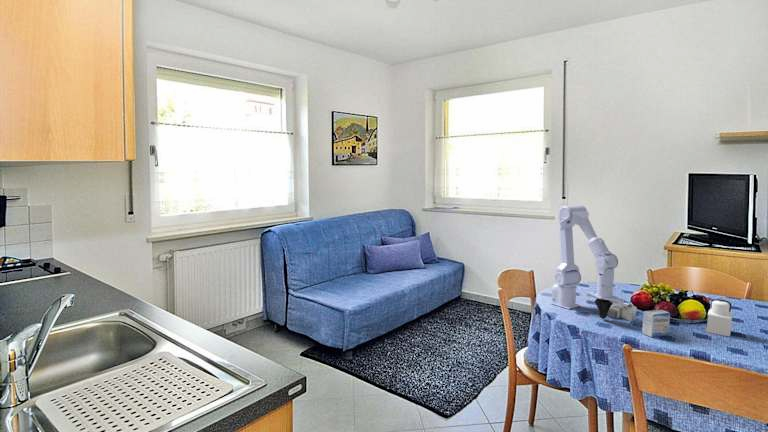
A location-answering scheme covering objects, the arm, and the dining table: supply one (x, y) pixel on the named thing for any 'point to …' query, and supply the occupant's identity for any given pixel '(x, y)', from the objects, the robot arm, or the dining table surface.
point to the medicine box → (656, 323)
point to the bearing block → (627, 311)
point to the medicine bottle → (719, 318)
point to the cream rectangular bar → (615, 311)
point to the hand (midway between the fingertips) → (603, 317)
